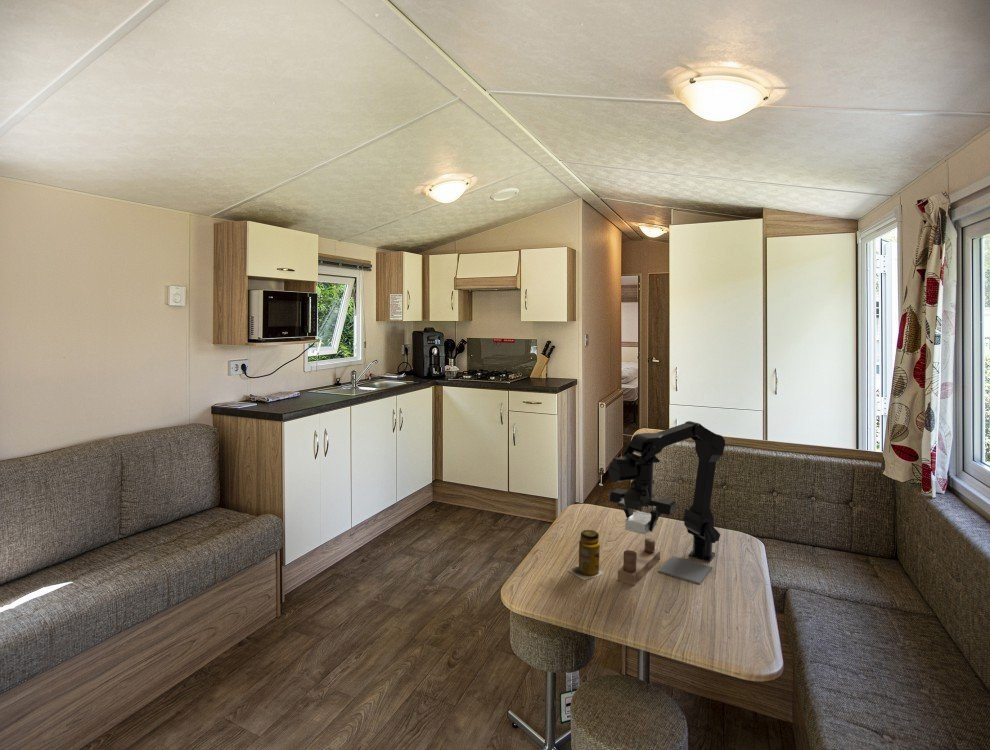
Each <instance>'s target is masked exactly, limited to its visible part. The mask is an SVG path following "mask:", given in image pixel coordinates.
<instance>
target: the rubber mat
mask: <svg viewBox="0 0 990 750" xmlns="http://www.w3.org/2000/svg"><path fill="white" fill-rule="evenodd" d="M712 569H713V567H712V566H709V565H707V564H702V563H701V562H700V563H699V562H697V561H696V562H695V561H693V560H688V559H685V558H682V557H678V556H674V555H672V556H671V557H670V558H669V559H668V560H667V561H665V563H664V564H663V565H662V566H661V567H660V568H659V569H658V573H660V574H662V575H663V574H664V575H667V576H671V577H674V578H677V579H680V580H683V581H687V582H691V583H693V584H697V585H701V584H702V583H703V581H705V579H706V577H707V576H708V574H710V572H711V570H712Z"/></svg>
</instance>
